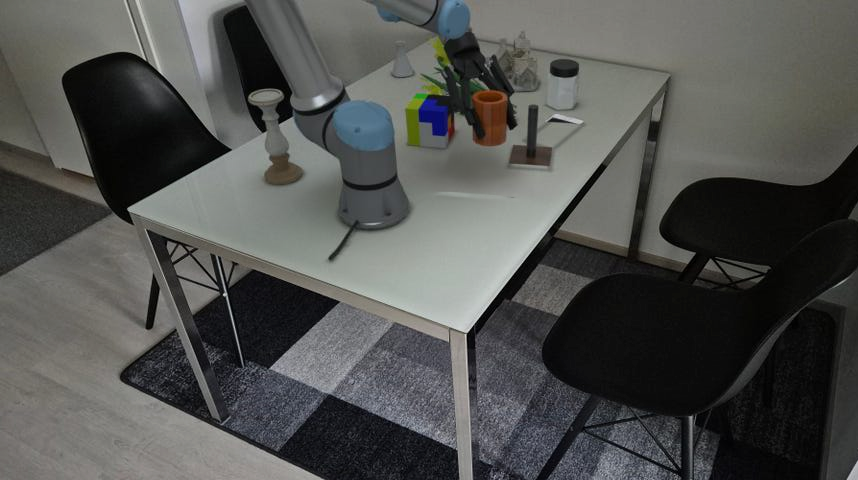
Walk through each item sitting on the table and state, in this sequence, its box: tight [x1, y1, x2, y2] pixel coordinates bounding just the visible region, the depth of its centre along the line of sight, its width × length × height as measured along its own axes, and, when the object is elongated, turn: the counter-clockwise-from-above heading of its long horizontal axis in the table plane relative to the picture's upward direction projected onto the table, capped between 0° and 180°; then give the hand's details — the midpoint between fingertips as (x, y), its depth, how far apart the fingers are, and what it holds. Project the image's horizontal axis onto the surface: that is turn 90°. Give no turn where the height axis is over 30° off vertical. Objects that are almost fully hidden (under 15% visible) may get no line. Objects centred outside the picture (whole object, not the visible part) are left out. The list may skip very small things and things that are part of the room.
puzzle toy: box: [405, 92, 455, 149], centre depth 163 cm, size 10×10×10 cm
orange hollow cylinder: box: [471, 89, 508, 147], centre depth 140 cm, size 8×8×10 cm
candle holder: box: [247, 88, 303, 186], centre depth 145 cm, size 9×9×20 cm
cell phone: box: [544, 113, 585, 125], centre depth 169 cm, size 9×18×1 cm, turn 146°
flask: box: [391, 40, 414, 78], centre depth 200 cm, size 7×7×10 cm
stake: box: [508, 103, 553, 167], centre depth 153 cm, size 10×10×14 cm
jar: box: [546, 58, 580, 111], centre depth 180 cm, size 9×8×12 cm
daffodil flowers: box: [417, 35, 518, 118], centre depth 176 cm, size 17×15×35 cm
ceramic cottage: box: [488, 29, 540, 93], centre depth 193 cm, size 16×16×15 cm
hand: (498, 132), depth 139 cm, fingers closed on orange hollow cylinder, 8 cm apart
